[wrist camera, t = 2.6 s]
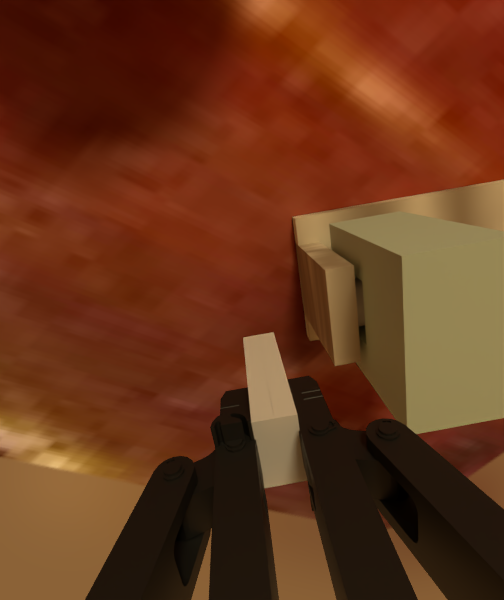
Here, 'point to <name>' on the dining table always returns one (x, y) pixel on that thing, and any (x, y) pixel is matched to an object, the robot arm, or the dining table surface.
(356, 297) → the rail stand
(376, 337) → the square sliding block
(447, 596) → the robot arm
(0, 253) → the dining table surface
